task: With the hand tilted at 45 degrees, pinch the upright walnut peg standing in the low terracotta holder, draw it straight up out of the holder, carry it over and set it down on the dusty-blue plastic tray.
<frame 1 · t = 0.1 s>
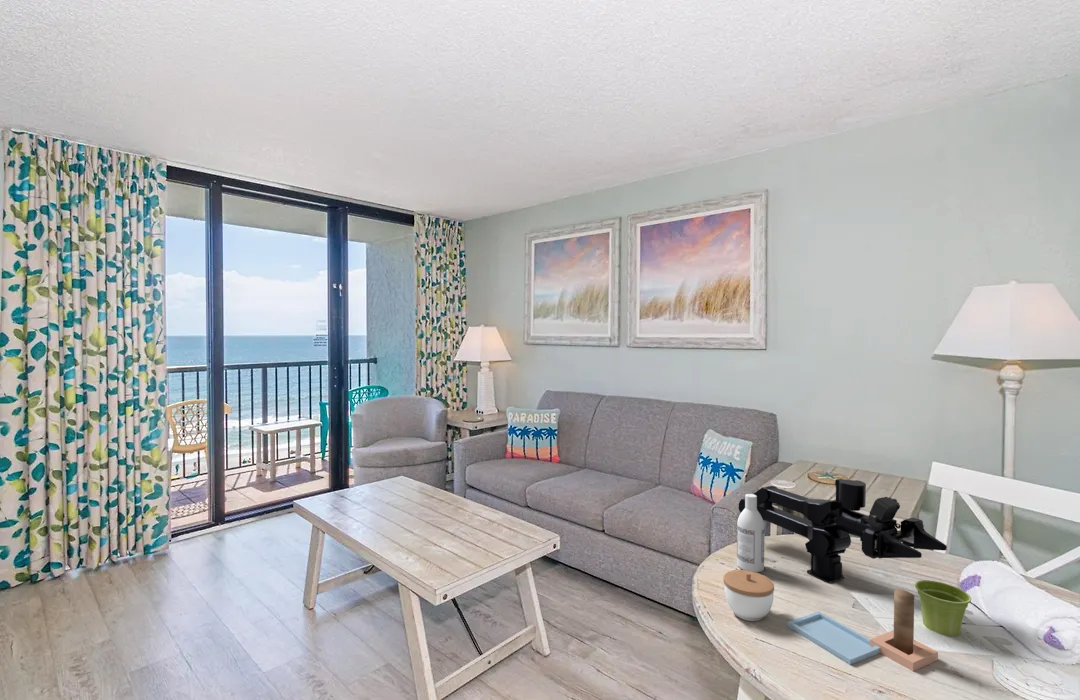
hand: (933, 551, 109), 17 cm above the table, tool horizontal, fingers open, 9 cm apart
peg: (903, 653, 99), point 1 cm above the table, touching holder
plant pot: (941, 631, 108), on the table
holder: (903, 656, 99), on the table
bath foam: (750, 568, 137), on the table
lidded jar: (748, 614, 115), on the table
tray: (833, 641, 104), on the table
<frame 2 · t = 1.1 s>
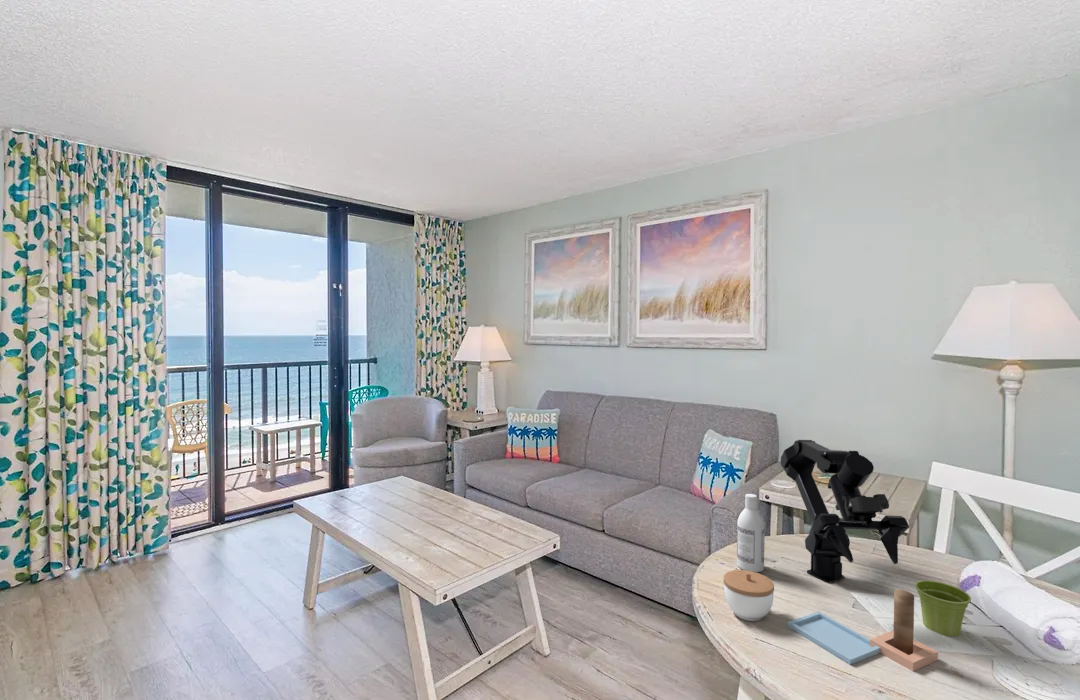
hand: (873, 562, 110), 14 cm above the table, tool tilted 45°, fingers open, 9 cm apart
nothing on the table moved.
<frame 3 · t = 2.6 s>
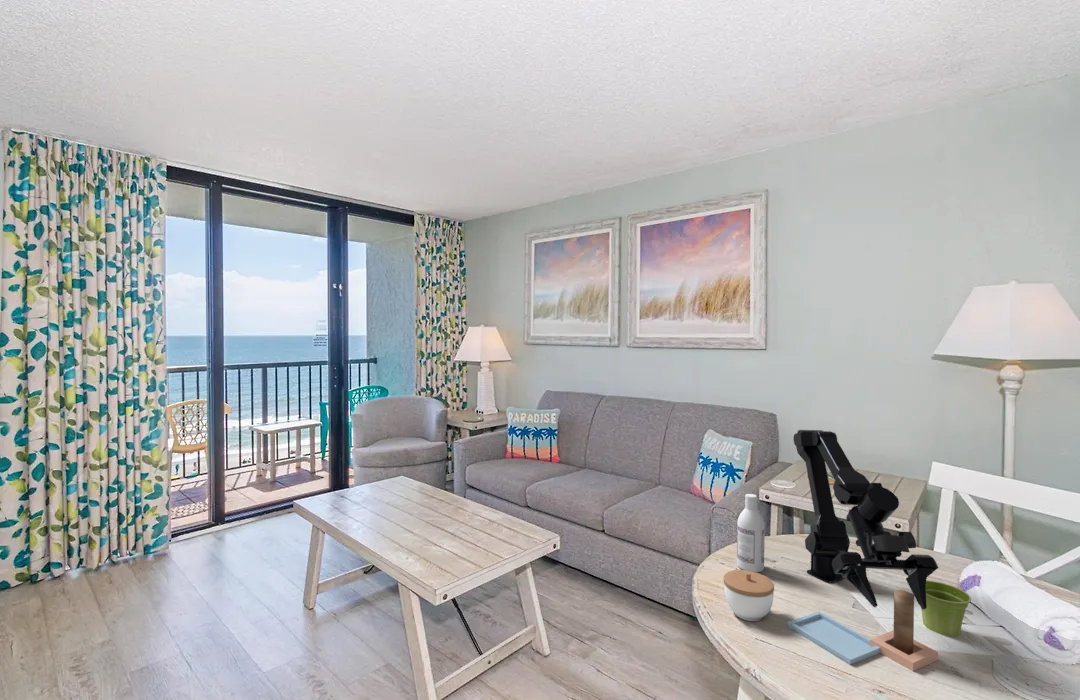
hand: (900, 607, 100), 9 cm above the table, tool tilted 45°, fingers open, 9 cm apart
nothing on the table moved.
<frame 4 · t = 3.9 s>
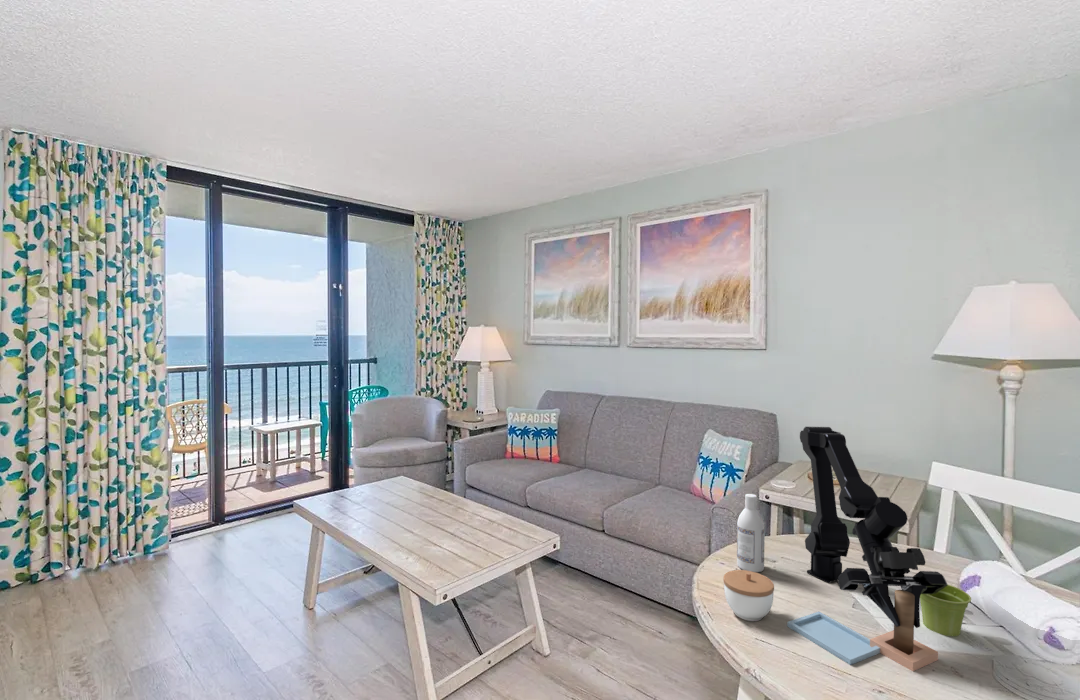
hand: (908, 626, 98), 7 cm above the table, tool tilted 45°, fingers closed on peg, 3 cm apart
peg: (903, 653, 99), point 1 cm above the table, touching gripper, holder
everything else where it was.
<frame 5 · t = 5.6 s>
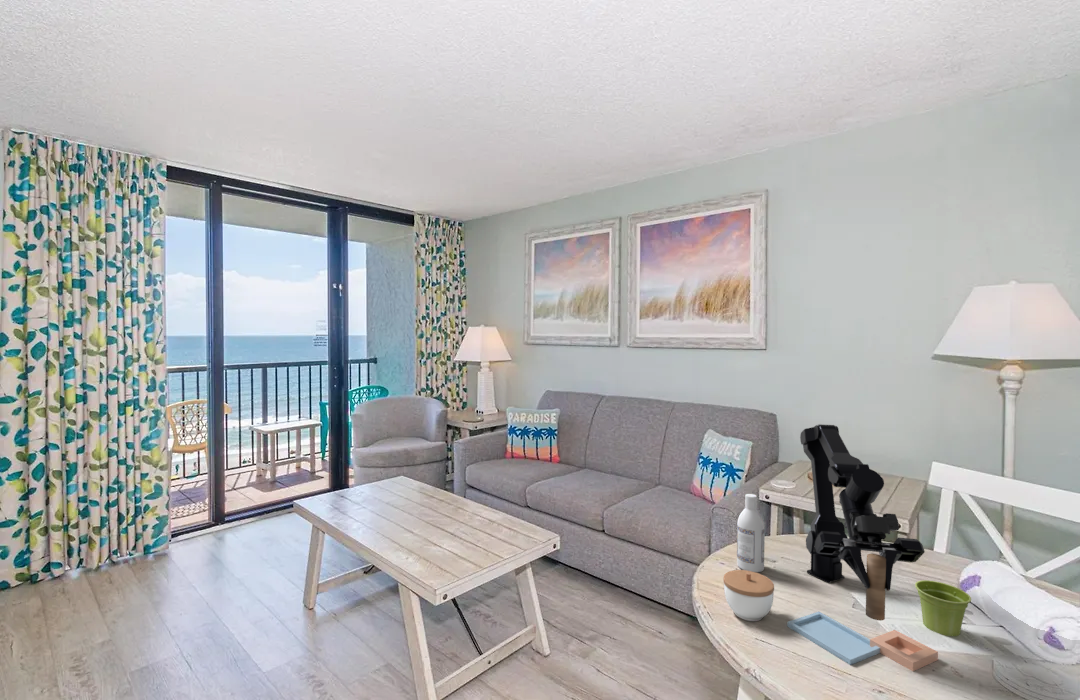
hand: (878, 589, 99), 13 cm above the table, tool tilted 45°, fingers closed on peg, 3 cm apart
peg: (875, 615, 101), point 7 cm above the table, touching gripper
everything else where it was.
when the fingers open (8 cm above the table, at t = 7.4 s): peg stays where it is, resting on tray.
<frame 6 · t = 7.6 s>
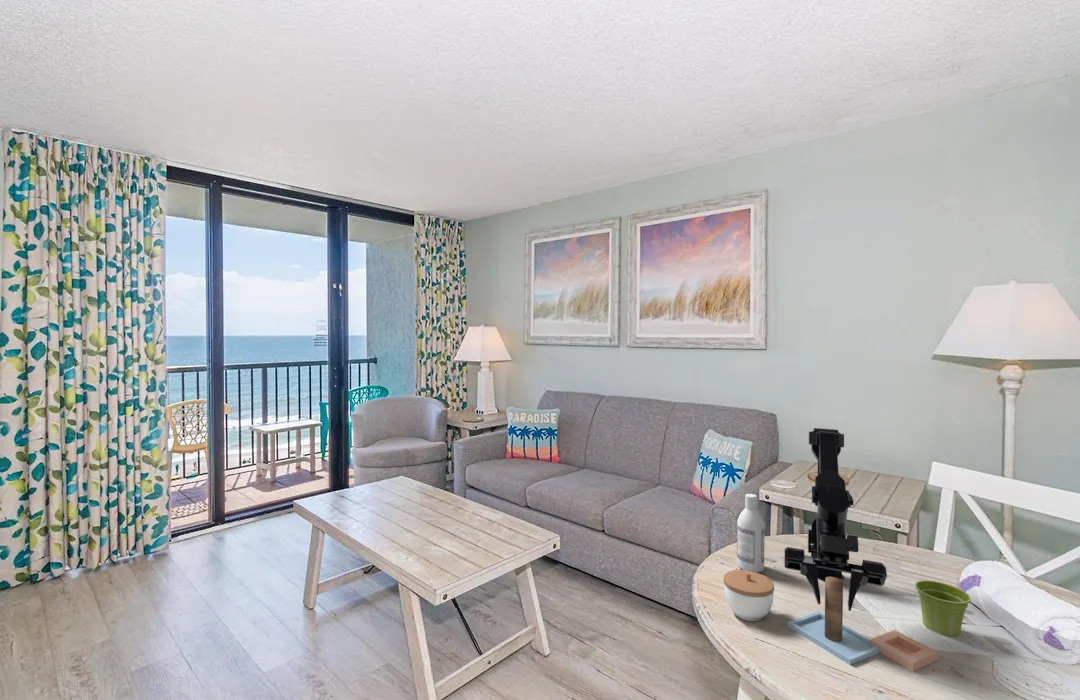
hand: (834, 606, 103), 8 cm above the table, tool tilted 45°, fingers open, 5 cm apart
peg: (833, 637, 104), point 1 cm above the table, touching tray
everything else where it was.
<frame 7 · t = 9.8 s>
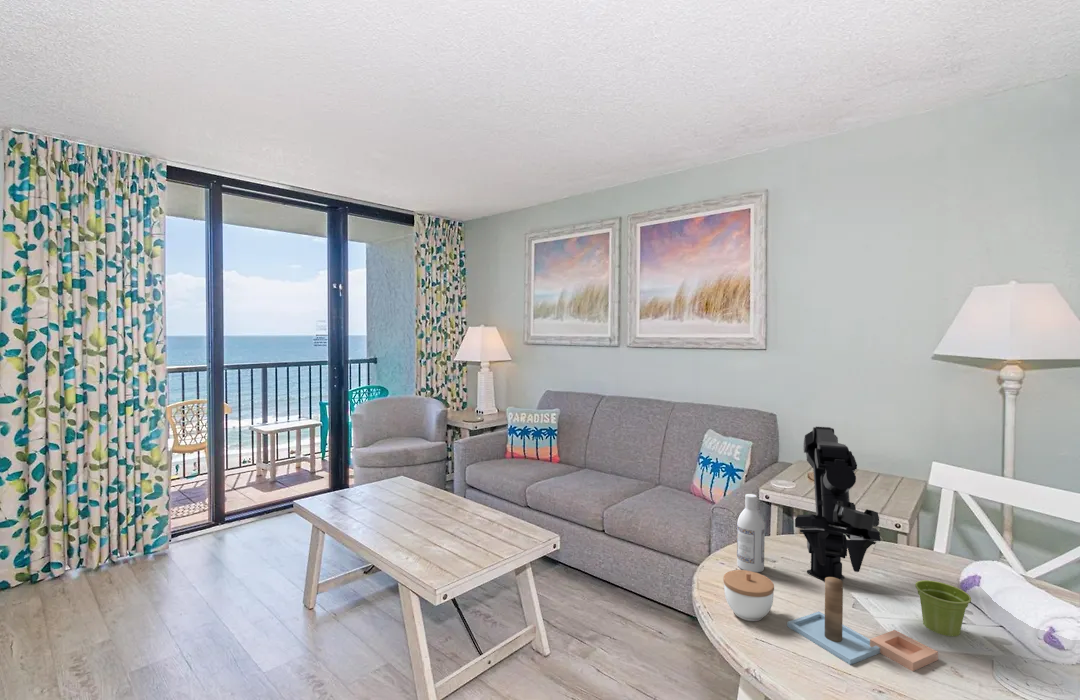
hand: (839, 568, 112), 11 cm above the table, tool tilted 25°, fingers open, 9 cm apart
nothing on the table moved.
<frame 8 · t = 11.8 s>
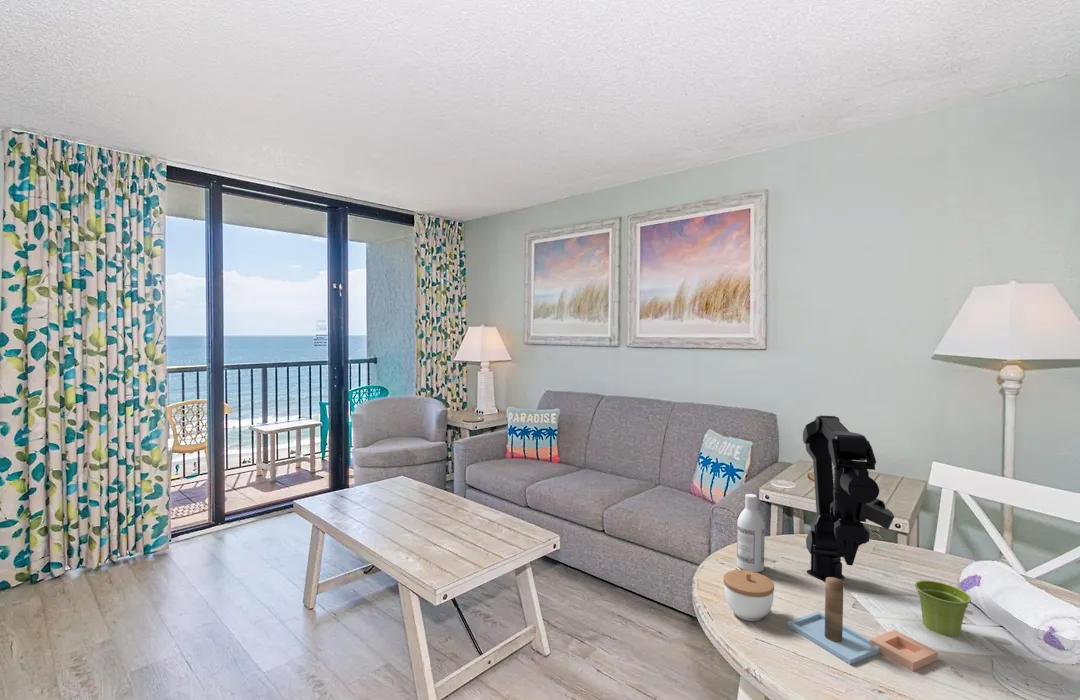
hand: (847, 556, 115), 13 cm above the table, tool pointing down, fingers open, 9 cm apart
nothing on the table moved.
at the end: peg inside the target area on the tray (0.0 cm from its centre), point 0.8 cm above the tray's base; the gripper is holding nothing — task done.
